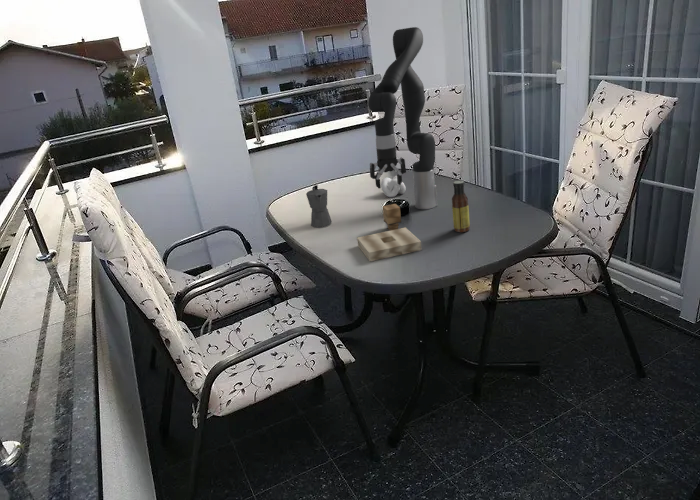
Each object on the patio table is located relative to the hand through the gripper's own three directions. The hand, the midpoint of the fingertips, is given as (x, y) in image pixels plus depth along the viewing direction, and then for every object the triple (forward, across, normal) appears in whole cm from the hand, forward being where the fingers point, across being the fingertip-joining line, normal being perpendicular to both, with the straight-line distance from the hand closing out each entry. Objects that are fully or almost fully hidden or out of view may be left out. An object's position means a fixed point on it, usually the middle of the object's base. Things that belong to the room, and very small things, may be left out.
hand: (389, 186), depth 200 cm
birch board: (+18, +8, +18) cm, 27 cm away
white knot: (+18, -16, -42) cm, 49 cm away
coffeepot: (+19, +26, -23) cm, 39 cm away
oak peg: (+18, 0, 0) cm, 18 cm away
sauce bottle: (+18, -23, +16) cm, 34 cm away
